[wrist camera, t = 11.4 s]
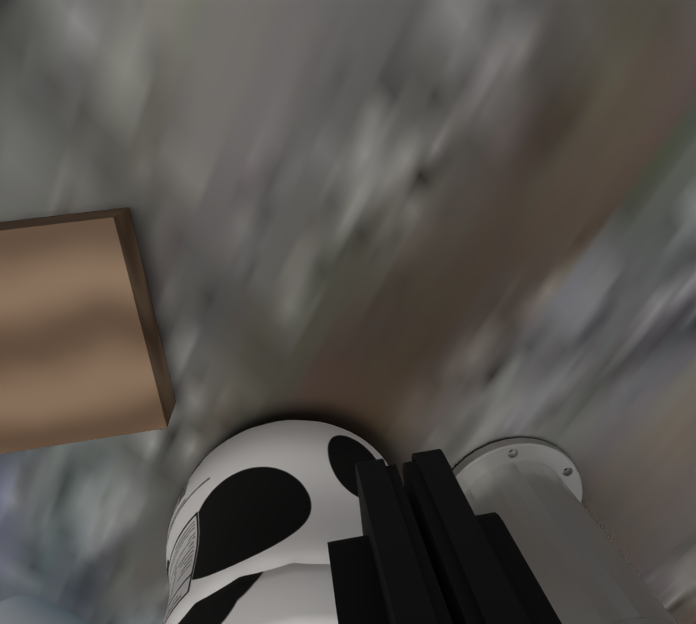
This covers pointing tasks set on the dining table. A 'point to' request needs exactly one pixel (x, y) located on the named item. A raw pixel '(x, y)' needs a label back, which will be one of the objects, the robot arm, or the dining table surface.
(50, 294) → the brown square slab
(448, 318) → the dining table surface
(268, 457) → the milk container
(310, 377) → the dining table surface
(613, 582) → the robot arm
